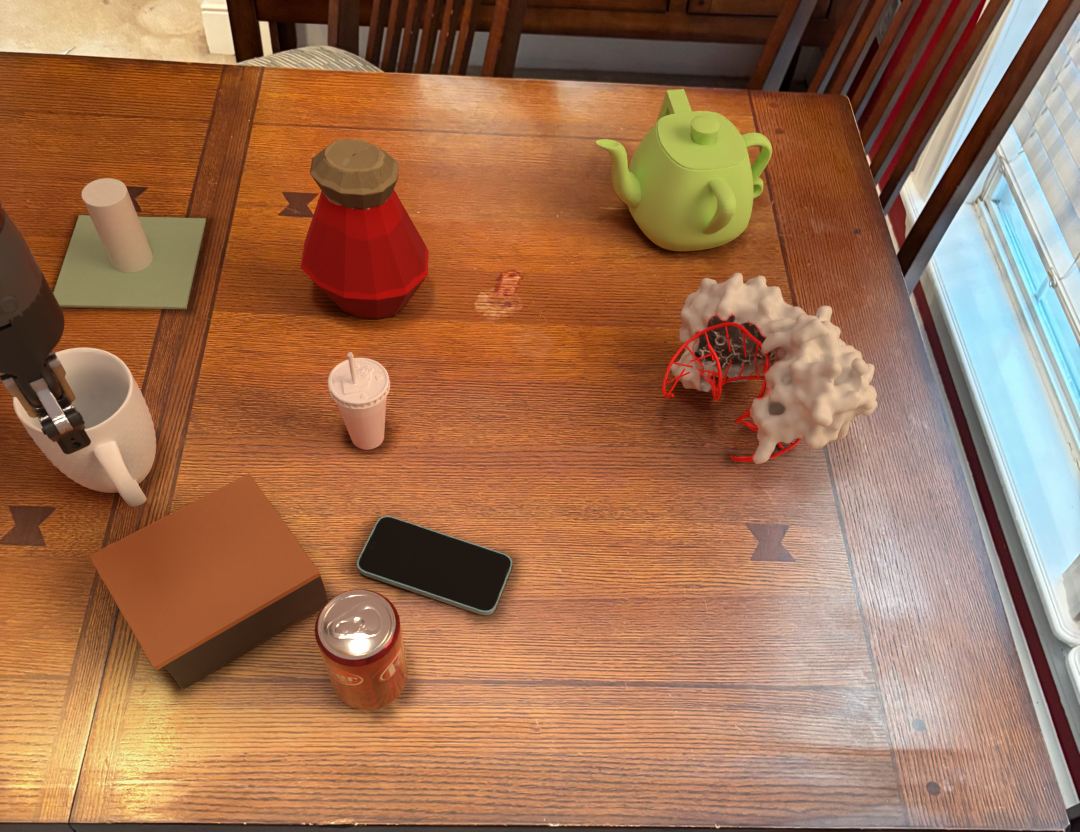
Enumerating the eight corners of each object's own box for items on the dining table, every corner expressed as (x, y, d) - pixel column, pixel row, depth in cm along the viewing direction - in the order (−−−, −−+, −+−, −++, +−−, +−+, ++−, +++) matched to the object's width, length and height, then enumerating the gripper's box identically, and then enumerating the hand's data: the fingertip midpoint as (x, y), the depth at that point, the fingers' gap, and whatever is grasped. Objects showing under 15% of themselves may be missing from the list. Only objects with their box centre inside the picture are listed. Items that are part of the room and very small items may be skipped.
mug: (203, 506, 95) (167, 431, 84) (101, 555, 92) (49, 483, 80) (147, 412, 101) (107, 330, 90) (49, 454, 97) (-6, 374, 86)
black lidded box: (182, 690, 85) (164, 666, 80) (120, 584, 90) (99, 555, 85) (329, 603, 91) (320, 576, 85) (262, 509, 96) (251, 477, 91)
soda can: (398, 634, 89) (389, 577, 79) (416, 700, 86) (408, 650, 76) (325, 653, 88) (306, 597, 78) (340, 721, 84) (322, 673, 74)
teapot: (770, 208, 126) (802, 114, 114) (705, 290, 117) (732, 198, 105) (654, 155, 130) (673, 59, 118) (582, 230, 121) (595, 135, 109)
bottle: (289, 318, 110) (255, 178, 93) (332, 245, 117) (307, 103, 99) (411, 349, 108) (399, 213, 91) (447, 274, 115) (442, 135, 98)
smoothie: (327, 442, 101) (307, 356, 89) (362, 405, 104) (348, 317, 92) (373, 468, 99) (359, 385, 87) (407, 430, 102) (399, 345, 90)
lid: (155, 670, 80) (153, 667, 79) (91, 559, 85) (88, 555, 84) (320, 575, 85) (319, 571, 85) (251, 477, 91) (249, 473, 90)
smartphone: (492, 615, 90) (353, 568, 91) (491, 620, 91) (354, 573, 92) (515, 556, 94) (381, 512, 95) (514, 561, 95) (382, 517, 96)
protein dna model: (661, 488, 109) (856, 512, 92) (600, 368, 99) (809, 369, 81) (735, 383, 118) (927, 386, 100) (687, 262, 107) (893, 243, 90)
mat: (50, 307, 108) (49, 304, 108) (80, 217, 116) (79, 214, 116) (186, 309, 109) (185, 307, 109) (206, 220, 118) (205, 218, 117)
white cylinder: (107, 272, 111) (76, 205, 103) (115, 244, 114) (86, 177, 105) (149, 273, 112) (122, 207, 103) (156, 245, 114) (130, 178, 105)
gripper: (-120, 241, 58) (-3, 409, 73) (-48, 374, 53) (62, 525, 68) (-2, 201, 61) (88, 371, 76) (76, 324, 56) (156, 480, 71)
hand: (75, 444), depth 72 cm, fingers closed
